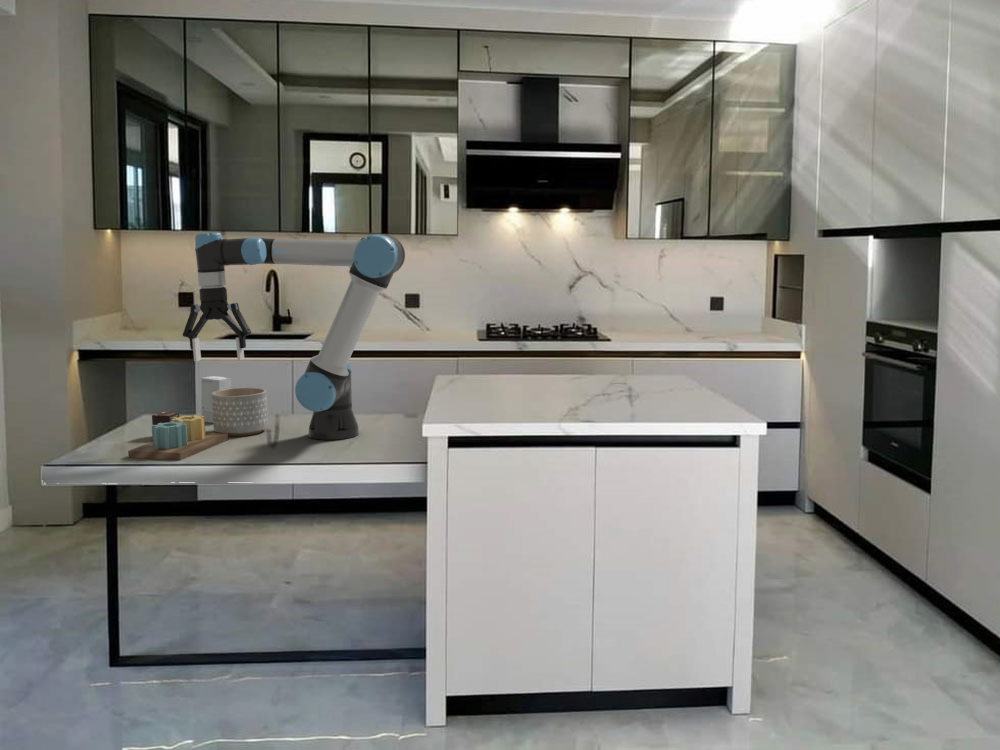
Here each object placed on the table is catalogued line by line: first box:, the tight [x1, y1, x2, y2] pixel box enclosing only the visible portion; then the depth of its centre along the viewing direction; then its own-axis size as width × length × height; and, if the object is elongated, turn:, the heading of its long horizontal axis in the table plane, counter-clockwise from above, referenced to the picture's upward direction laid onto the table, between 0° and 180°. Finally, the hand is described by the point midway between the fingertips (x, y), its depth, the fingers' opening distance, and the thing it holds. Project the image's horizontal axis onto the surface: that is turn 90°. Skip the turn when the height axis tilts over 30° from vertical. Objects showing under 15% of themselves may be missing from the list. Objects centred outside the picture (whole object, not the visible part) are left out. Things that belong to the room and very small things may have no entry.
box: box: [151, 411, 180, 426], centre depth 285 cm, size 6×6×7 cm
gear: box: [151, 422, 188, 449], centre depth 263 cm, size 9×9×6 cm
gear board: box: [127, 432, 229, 461], centre depth 268 cm, size 16×26×7 cm, turn 167°
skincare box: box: [200, 375, 232, 424], centre depth 308 cm, size 8×6×15 cm
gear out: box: [171, 414, 206, 441], centre depth 273 cm, size 9×9×6 cm
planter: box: [212, 387, 269, 437], centre depth 291 cm, size 16×16×13 cm
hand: (219, 360), depth 271 cm, fingers open, 13 cm apart
